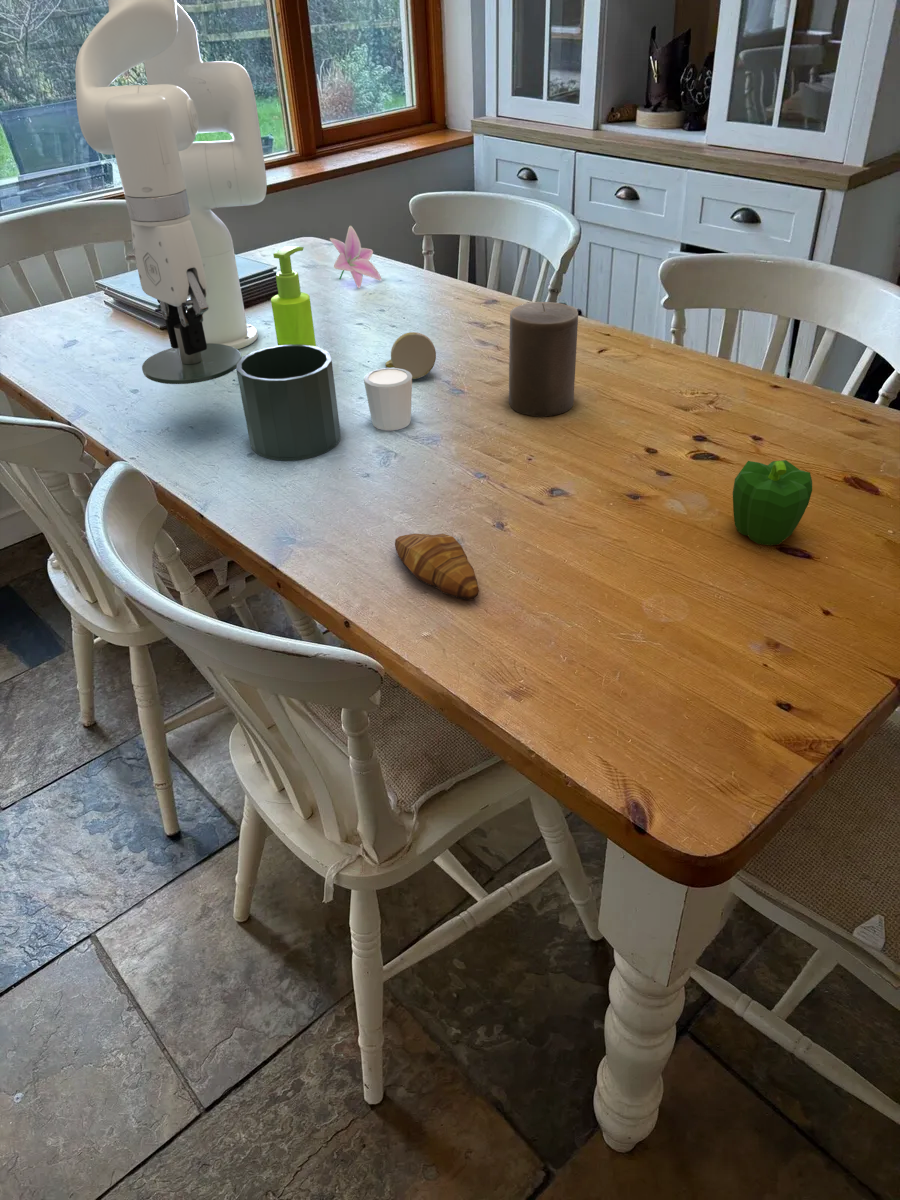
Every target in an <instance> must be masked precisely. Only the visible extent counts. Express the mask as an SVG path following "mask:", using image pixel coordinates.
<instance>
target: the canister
mask: <svg viewBox="0 0 900 1200" xmlns="http://www.w3.org/2000/svg"><path fill="white" fill-rule="evenodd" d="M241 357H242V358H241V359H240V360H239V361H238V362H237V367H236V369H235V370H236V376H237V381H238V387H239V392H240V397H241V403H242V408H243V413H244V418H245V424H246V429H247V434H248V435H247V436H248V439H249V444H250V446H251V450H252V451H253V452H254V453H255V454H257V455H259V456H260V457H262V458H265V459H269V460H274V461H281V462H283V461H285V462H288V461H289V462H291V461H293V462H294V461H302V460H307V459H312V458H316V457H318V456H321V455H323V454H326V453H327V452H329V451H331V450H332V449H334V448H335V447H336V446H337V445H338V444H339V443H340V440H341V427H340V419H339V410H338V401H337V394H336V385H335V376H334V369H333V368H334V367H333V360H332V355H331V354H330V353H329V352H328V351H327V350H326V349H324V348H321V347H319V346H316V347H315V346H310V345H301V344H290V345H278V344H277V345H273V346H267V347H263V348H259V349H257V350H253V351H251V352H249V353H247V354H246V355H244V356H241Z"/></svg>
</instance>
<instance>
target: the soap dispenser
mask: <svg viewBox="0 0 900 1200" xmlns="http://www.w3.org/2000/svg"><path fill="white" fill-rule="evenodd" d="M302 251H304V246H294V245H287V246H284V247H282V248H280V249H277V251H275V252H274V253H273V259H278V262H279V271H278V272H276V274H275V281H276V288H277V294H275V295H273V296H272V297H271V298H270V303H271V310H272V316H273V323H274V329H275V335H276V342H277V346H278V345H290V344H301V345H310V346H315V347H317V341H316V335H315V326H314V320H313V311H312V304H311V296H310V294H308V293H306V292H303V291H301V284H300V283H301V282H300V276H299V272H297V271H295V270H293V267H292V259H291V256H292V255H294V254H295V253H298V252H302Z"/></svg>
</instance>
